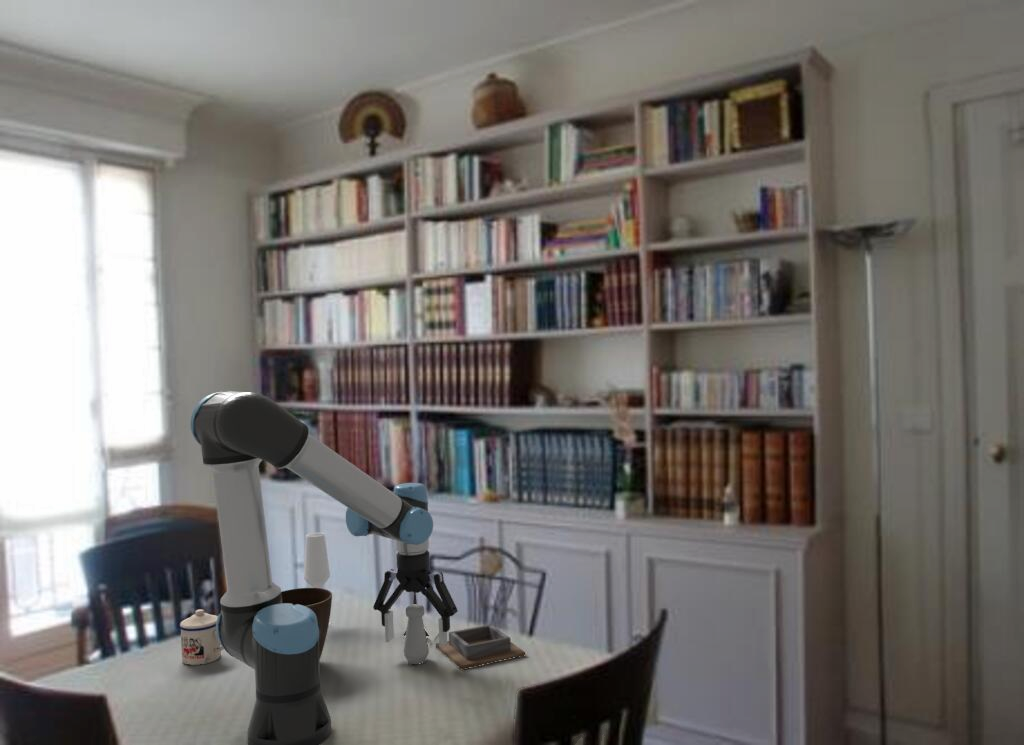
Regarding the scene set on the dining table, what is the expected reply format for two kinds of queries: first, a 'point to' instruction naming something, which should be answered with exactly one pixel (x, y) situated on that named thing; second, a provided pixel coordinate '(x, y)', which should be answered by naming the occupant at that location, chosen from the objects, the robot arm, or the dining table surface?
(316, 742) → the robot arm
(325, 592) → the plant pot
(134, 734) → the dining table surface
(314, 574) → the champagne flute
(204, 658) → the teacup with lid
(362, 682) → the dining table surface
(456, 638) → the socket stand
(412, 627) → the salt shaker
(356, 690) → the dining table surface
